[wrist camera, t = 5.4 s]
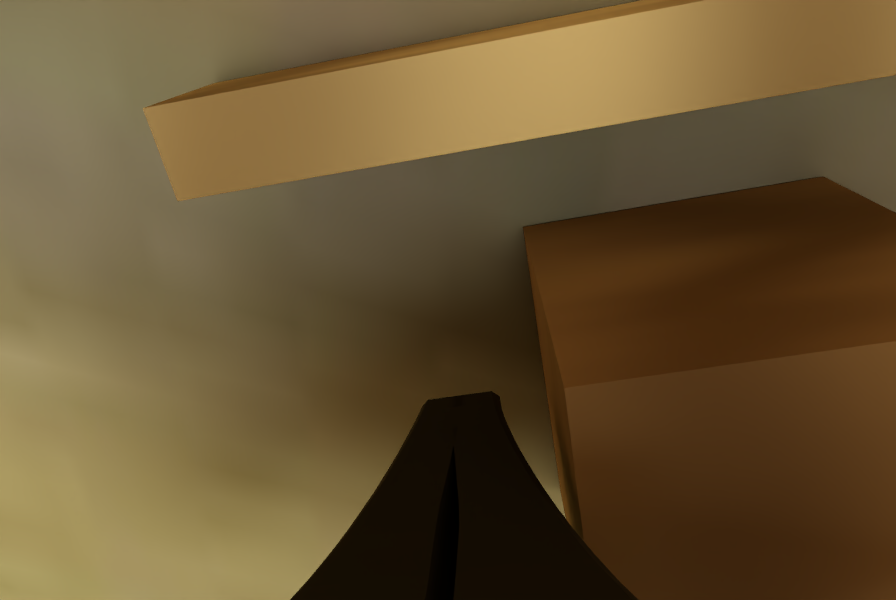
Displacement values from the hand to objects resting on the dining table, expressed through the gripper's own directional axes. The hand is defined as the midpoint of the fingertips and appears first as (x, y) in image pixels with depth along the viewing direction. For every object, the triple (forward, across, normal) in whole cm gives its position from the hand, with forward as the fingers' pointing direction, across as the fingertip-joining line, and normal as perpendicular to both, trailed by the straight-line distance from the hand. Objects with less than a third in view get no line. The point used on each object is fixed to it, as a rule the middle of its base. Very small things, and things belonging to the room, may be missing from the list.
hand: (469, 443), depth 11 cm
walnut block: (+2, -4, 0) cm, 4 cm away
